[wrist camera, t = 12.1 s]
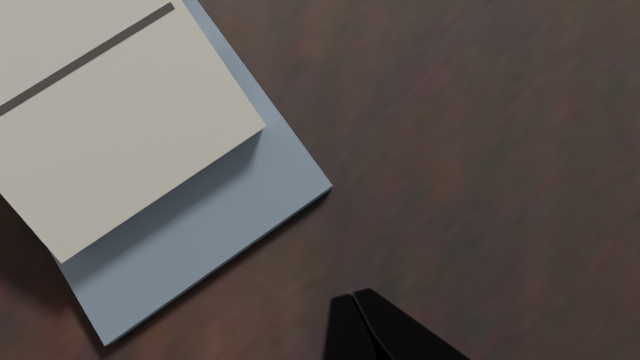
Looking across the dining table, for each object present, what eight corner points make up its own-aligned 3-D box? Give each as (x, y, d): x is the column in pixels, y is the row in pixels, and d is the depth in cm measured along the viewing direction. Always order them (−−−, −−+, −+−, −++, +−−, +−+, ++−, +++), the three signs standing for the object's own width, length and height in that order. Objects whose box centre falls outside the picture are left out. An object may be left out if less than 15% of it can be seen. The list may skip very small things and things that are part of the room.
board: (332, 188, 20) (332, 185, 19) (113, 342, 19) (104, 346, 18) (76, -162, 24) (68, -176, 23) (-119, -55, 23) (-134, -67, 22)
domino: (266, 125, 18) (82, -147, 15) (61, 263, 17) (-173, -6, 14) (263, 126, 20) (97, -118, 17) (77, 251, 19) (-128, 9, 16)
